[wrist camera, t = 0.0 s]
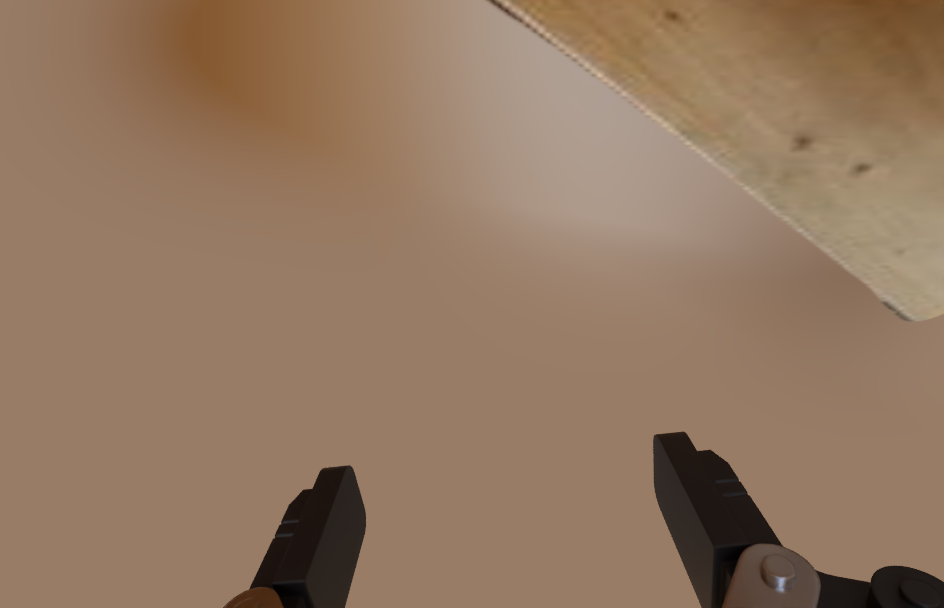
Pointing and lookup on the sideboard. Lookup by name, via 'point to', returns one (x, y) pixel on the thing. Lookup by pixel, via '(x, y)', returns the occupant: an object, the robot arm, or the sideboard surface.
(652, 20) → the sideboard surface
